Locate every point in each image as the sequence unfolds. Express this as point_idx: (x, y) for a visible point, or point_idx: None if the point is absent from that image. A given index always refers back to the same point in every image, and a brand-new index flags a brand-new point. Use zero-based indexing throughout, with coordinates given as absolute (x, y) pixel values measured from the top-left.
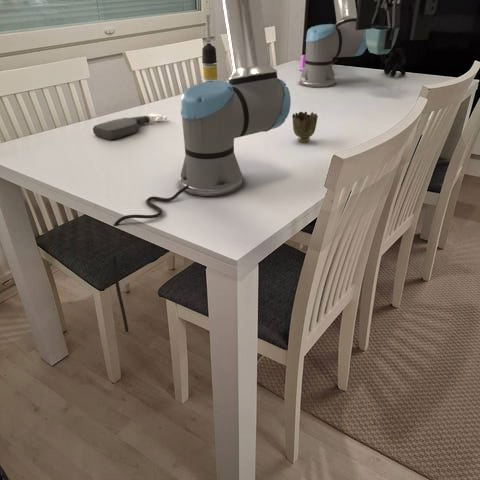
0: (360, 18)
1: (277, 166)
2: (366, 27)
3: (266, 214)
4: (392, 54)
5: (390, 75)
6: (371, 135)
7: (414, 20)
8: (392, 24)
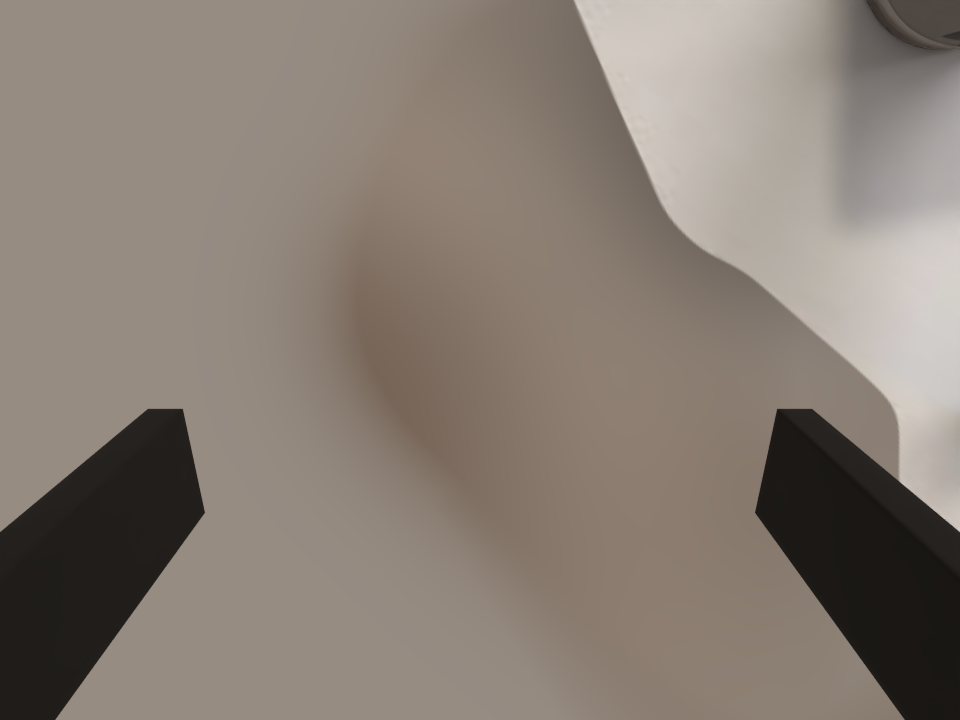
0: (818, 460)
1: (930, 218)
2: (770, 483)
3: (669, 18)
4: None
5: None
6: None
7: (90, 474)
8: None
